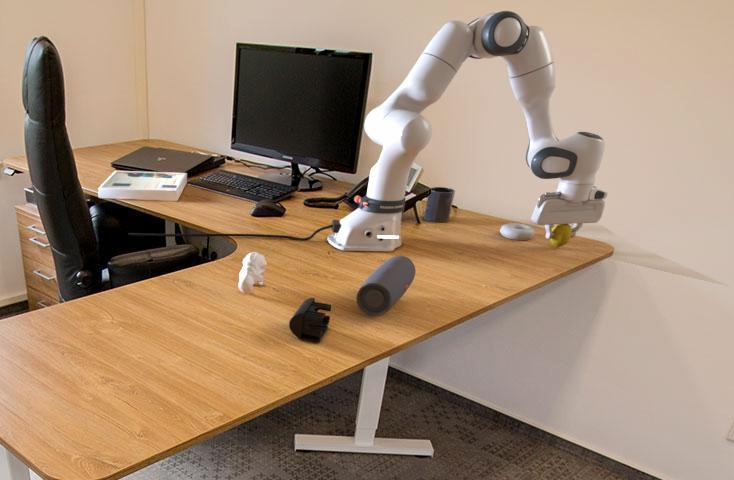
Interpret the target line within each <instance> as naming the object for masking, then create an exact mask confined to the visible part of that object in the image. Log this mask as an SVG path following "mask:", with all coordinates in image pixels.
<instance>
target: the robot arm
mask: <svg viewBox="0 0 734 480" xmlns="http://www.w3.org/2000/svg"><path fill="white" fill-rule="evenodd" d="M499 57H500V58H502V60H503V61H504V62H505V65H506V67H507V73H508V79H509V84H510V88H511V90H512V93H513V96H514V98H515V99H516V102H517V103H518V105H519V106H520V107H521V109H522V111H523V114H524V118H525V121H526V122H525V123H526V129H527V134H528V145H527V150H526V154H525V162H526V165H527V166H528V167H529V169H530V170H531V172H532V174H533V175H534V176H535V177H537V178H539V179H542V180H555V179H559V181H558V186H557V188H556V191H553V192H549V191H547V192H544V193H543V194H542V195H540V196H539V197H538V199H537V203H536V205H535V207H534V210H533V212H532V215H531V217H530V220H531V222H532V224H535V225H537V226H544V229H545V232H546V233H545V238H546V239H548V240H550V239H552V238H553V237H554V234H555V233H553V232H552V229H553V228H554V226H555V225H557V224H568V225H573V227H571V229H572V234H571V238H570V239H574V238H575V237H576V234H577V232H578V231H579V230H580V229H581V228H582V227H583V224H597V223H598V222H599V221H600V220H601V218H602V216H603V213H604V210H605V205H606V201H605V199H607V197H608V192H607V191H605V190H603V189H602V188H598V187H597V186H595V182H596V174H597V172H598V170H599V169H600V166H601V163H602V160H603V156H604V151H605V145H606V143H605V140H604V139H603V137H601V135H599V134H596V133H592V132H588V131H577V132H576V133H575V134H572V135H570V136H568V137H566V138H563V139H561V140H559V139H558V137H557V136H556V135H555V133H554V128H553V123H552V117H551V110H550V100H551V97H552V94H553V92H554V90H555V88H556V67H555V61H554V56H553V52H552V49H551V45H550V42H549V39H548V37H547V34H546V33H545V30H544V29H543V27H541V26H538V25H528V24H526V23H525V21H524V19H523V18H522V17H521V16H520V15H519V14H517V13H516V12H514V11H510V10H501V11H498V12H491V13H488V14H485V15H482V16H480V17H477V18H476V19H474V20H472V21H471V22H469V23H468V24H467V23H466V22H463V21H461V20H450V21H447V22H446V23H444V24H443V26H442V27H441V28H440V29H439V30H438V31H437V33H436V34H435V35H434V36H433V37H432V39H431V40H430V41H429V42H428V44H427V46H425V48H424V49H423V50H422V53H421V54H420V56H419V57H418V59H417V61H416V62H415V63H414V65H413V67H412V68H411V69H410V71H409V73H407V76H406V77H405V79H404V80H403V81H402V82H401V84H400V85H399V86H398V87H397V88H396V89H395V90H394V91H393V92H392V94H390V95H389V96H388V97H387V98H386V100H385V101H384V102H382V103H381V104H379V105H378V106H377V107H375V108H373V109H372V110H371V111H369V113H368V114H367V116H366V117H365V120H364V125H363V127H364V131H365V134H366V135H367V137H368V138H369V139H370V140H371V141H372V142H373V143H375V144H377V145H379V146H382V149H381V153H380V155H379V158H378V160H377V162H376V163H375V164H374V165H372V166H371V169H370V170H369V176H368V182H367V183H368V184H367V189H366V190H367V191H366V194H364V196H363V197H361V195H355V196H354V198H353V201H354V202H355V203H357V204H358V208H356V209H355V210H353V211H352V212H351V213H348V214H347V215H345V216H344V217H343V218H341V219H340V220H339V219H332V220H331V224H329V225H325V226H322V227H320V228H318V229H316V230H314V232H312V233H311V234H310V235H309V236H306V237H296V236H291V235H284V234H282V235H281V234H263V233H261V234H260V233H142V232H141V233H139V232H128V233H127V236H129V237H131V236H132V237H162V238H163V237H167V238H168V237H174V238H177V237H180V238H181V237H185V238H186V237H187V238H188V237H245V238H246V237H247V238H248V237H250V238H251V237H252V238H276V239H277V238H278V239H289V240H294V241H308V240H311V239H313V238H314V237H315V236H316V235H317V234H318V233H319V232H321V231H325V230H328V229H331V230H332V233H330V234H328V236H327V243H329V244H330V245H331V246H332V247H334V248H335V249H338V250H341V251H343V252H345V251H346V252H348V251H349V252H387V253H389V252H394V250H395V249H397V248H399V247H401V246H402V245H403V242H402V229H401V228H402V217H403V215H404V211H405V206H406V197H405V196H406V191H407V187H408V181H409V175H410V172H411V169H412V167H413V164H414V162H415V160H416V158H417V156H418V155H419V154H420V152H421V151H422V150H424V149H425V148H426V147H427V146H428V144H429V143H430V141H431V138H432V135H433V128H432V125H431V122H430V121H429V120H428V119H427V118H426V117H425V116H423V115H422V113H423V112H424V111H425V110H426V109H427V108H428V107H430V106H432V105H433V104H435V103H436V102H438V101H439V100H441V97H442V96H443V94H444V93H445V91H446V89H447V88H448V87H449V85H450V84H451V83H452V81H453V79H454V78H455V76H456V75H457V73H458V71H459V70H460V68H461V67H462V65H463V63H464V62H465V61H466V60H467V59H469V58H470V59H475V60H482V59H486V60H487V59H488V60H489V59H494V58H499Z"/></svg>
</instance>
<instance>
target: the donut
mask: <svg viewBox="0 0 734 480" xmlns="http://www.w3.org/2000/svg"><path fill="white" fill-rule="evenodd" d="M499 233H500V234H501V235H502V237H504V238H506V239H508V240H509V239H510V240H515V241H528V240H531V239H532V238H533V237H534V236H535V234H536V231H535V229H534V227H532V226H530V225H528V224H525V223H517V222H509V223H504V224H503V225H502V226H501V227H500V229H499Z"/></svg>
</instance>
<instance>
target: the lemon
mask: <svg viewBox="0 0 734 480" xmlns="http://www.w3.org/2000/svg"><path fill="white" fill-rule="evenodd" d="M551 229H552V232H553V233H555V234H554V237H553V238H552V239H549V241H550V243H551V245H552V246H554V247H555V249H558V248H560V247H563V246H565V245H567V244H568V243H569V242H570V241H571V239H572V238H571V234H572V227H571V224H555V225H554V227H553V228H551Z"/></svg>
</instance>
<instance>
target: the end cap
mask: <svg viewBox="0 0 734 480" xmlns="http://www.w3.org/2000/svg"><path fill="white" fill-rule="evenodd" d="M320 311H325V312H320ZM326 312H332V304H329V303H325V302H319V301H316V297H309V298H306V299H304V300H303V302H302V303H301V304H300V306H299V307H298V308H297V309H296V311H294V313H293V315H292V316H291V317H290V319H289V322H288V327H289V330H290V332H291V333H292V334H293V335H294V336H295V337H296V338H297V339H298V340H300V341H303V342H309V343H315V344H319V343H320V342H321V341H322V339H323V338H324V336H325V334H326V332H327V331H328V329H329V324H330V319H331V316H330V315H326Z"/></svg>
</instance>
